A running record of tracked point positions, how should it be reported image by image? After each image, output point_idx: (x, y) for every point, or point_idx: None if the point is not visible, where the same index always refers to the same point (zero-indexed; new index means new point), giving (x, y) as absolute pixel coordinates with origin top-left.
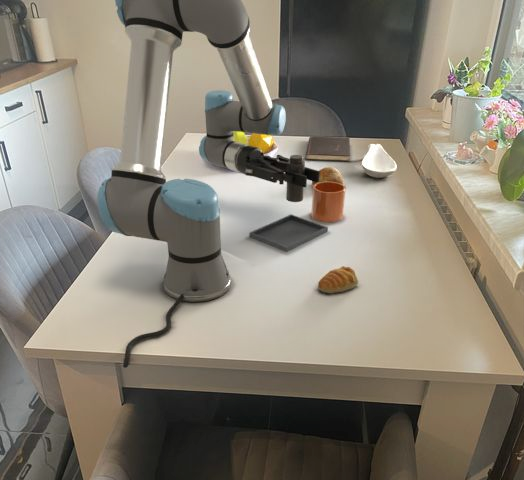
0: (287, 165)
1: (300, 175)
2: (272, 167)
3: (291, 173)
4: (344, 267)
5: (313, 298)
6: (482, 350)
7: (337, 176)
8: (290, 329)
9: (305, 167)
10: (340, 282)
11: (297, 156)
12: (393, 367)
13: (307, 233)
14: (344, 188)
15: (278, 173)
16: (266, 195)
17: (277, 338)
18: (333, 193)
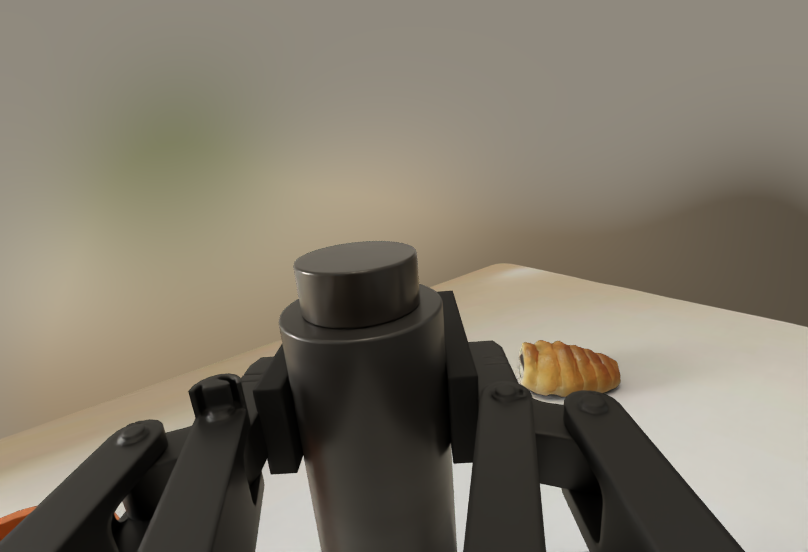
0: (424, 351)
1: (456, 304)
2: (511, 535)
3: (466, 344)
4: (531, 355)
5: (646, 380)
6: (497, 274)
7: None
8: (748, 351)
9: (282, 353)
10: (575, 345)
11: (345, 254)
12: (615, 286)
13: None
14: (15, 514)
15: (537, 422)
16: None
17: (788, 348)
18: (117, 516)
